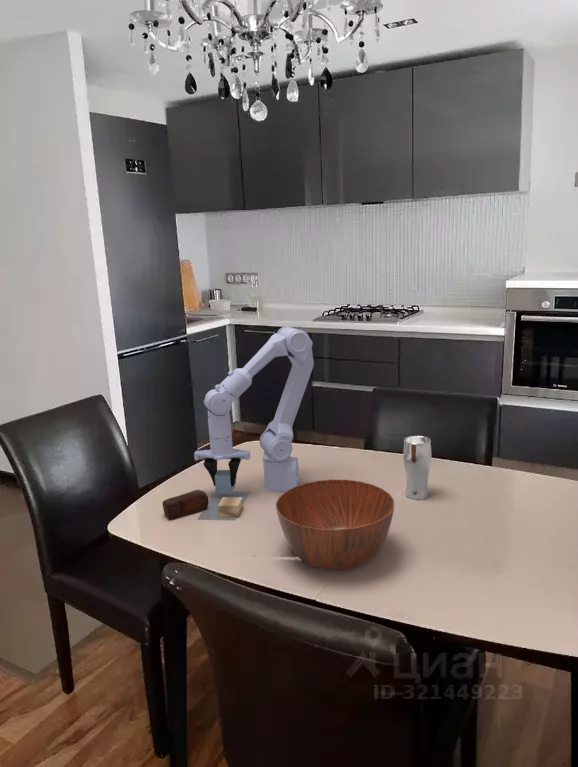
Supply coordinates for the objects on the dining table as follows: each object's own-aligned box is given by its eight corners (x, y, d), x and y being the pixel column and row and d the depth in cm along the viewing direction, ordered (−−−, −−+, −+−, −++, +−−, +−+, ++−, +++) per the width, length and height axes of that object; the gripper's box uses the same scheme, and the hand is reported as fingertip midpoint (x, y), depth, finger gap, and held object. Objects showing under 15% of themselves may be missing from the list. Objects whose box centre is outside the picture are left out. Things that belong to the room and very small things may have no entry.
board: (249, 494, 161) (249, 491, 161) (235, 523, 145) (235, 520, 144) (215, 493, 162) (215, 490, 162) (197, 522, 146) (197, 519, 146)
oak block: (243, 508, 151) (242, 497, 150) (238, 517, 146) (237, 506, 145) (223, 508, 151) (222, 497, 151) (218, 517, 146) (217, 505, 146)
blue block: (234, 487, 160) (233, 469, 159) (231, 493, 156) (229, 475, 155) (219, 487, 161) (218, 469, 159) (216, 493, 157) (214, 475, 156)
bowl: (364, 596, 113) (363, 541, 110) (255, 564, 126) (252, 514, 123) (412, 539, 133) (412, 491, 130) (314, 516, 146) (312, 472, 144)
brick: (170, 523, 146) (167, 505, 145) (164, 518, 149) (161, 500, 148) (210, 508, 151) (207, 491, 150) (203, 504, 154) (200, 487, 153)
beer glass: (401, 498, 154) (400, 443, 150) (406, 488, 160) (406, 434, 156) (428, 501, 151) (428, 445, 147) (433, 491, 157) (433, 436, 154)
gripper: (188, 441, 152) (193, 490, 155) (244, 440, 150) (248, 491, 153) (196, 432, 159) (201, 480, 162) (250, 431, 157) (254, 480, 160)
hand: (224, 484), depth 158 cm, fingers closed on blue block, 4 cm apart
